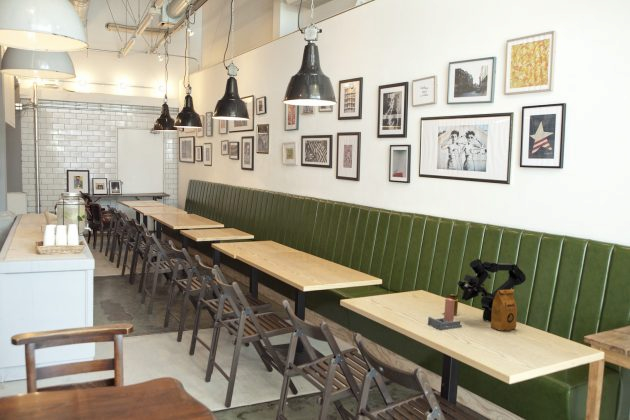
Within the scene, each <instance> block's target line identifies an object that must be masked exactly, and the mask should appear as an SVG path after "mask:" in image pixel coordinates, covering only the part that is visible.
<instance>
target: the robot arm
mask: <svg viewBox="0 0 630 420" xmlns="http://www.w3.org/2000/svg"><path fill="white" fill-rule="evenodd" d="M469 267H470V268H471V270H472V271H473V273H474V274H476V275H469V274H465V276H464V278H463V280H458V282H457V285H458V286H459V288H460V289H461V290H462V291H463V293H462V295H461V300H462V301H463V300H464V301H466V302H467V301H469V300H471V299H473V298H476V297H480V296H479V294H481V297H482V298H480V299H481V300H480V304H481V308H482V309H484V310H483V312H482V320H483V321H485V322H491V314H492V305H493V300H494V298H495V296H496V294H497V292H498V290H512V289H513V288H514V287H516V286H519V285H522V284H524V282H526V275H525V273H524V272H523V270H521V269H520V268H519V266H518V264H516V263H512V262H509V263H502V262H501V263H498V262H497V263H496V262H492V261H488V260H485V261H483V262H482V261H481V259H480V258H476V260H475V259H474V260H473V261H471V262H470V263H469ZM499 271H504V272H505V271H507V274H508V279H507V280H506V281H505V282H504V283H502V284H501V285H500V286H499V287H498V288H497V289H495V290H494V291H493V292H492V293H491V292H488V291H487V290H486V288H485V287H484V285H485V284H484V283H485V282H486V280H487V279H489V280H491V279H492V275H491V274H493V273H497V272H499Z"/></svg>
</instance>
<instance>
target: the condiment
mask: <svg viewBox="0 0 630 420" xmlns="http://www.w3.org/2000/svg"><path fill="white" fill-rule="evenodd" d="M458 296H459V295H458V294H456V293H449V294H448V298H450V299H453V300H455V304H454V317H457V316H459V315H461V314H459V313H458V304H459V299H458V298H459V297H458ZM448 298H447V299H448ZM444 313H445V312H443V313H441V314H442V315H444Z"/></svg>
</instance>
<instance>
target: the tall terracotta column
mask: <svg viewBox="0 0 630 420" xmlns="http://www.w3.org/2000/svg"><path fill="white" fill-rule="evenodd" d="M444 303H445V304H444V312H443V313H444V314H443V315H444V316H443V318H444V319H443V322H444V323H446V322H454V317H455V316H454V304H455V300H453V299H450V298H445V302H444Z"/></svg>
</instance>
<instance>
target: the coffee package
mask: <svg viewBox="0 0 630 420" xmlns="http://www.w3.org/2000/svg"><path fill="white" fill-rule="evenodd" d="M514 293H515V289H513V288H512V289H510V290H498V292H497V294H496V296H495V298H494V300H493V305H492V314H491V321H490V327H491V328H492V329H494V330H495V329H496V330H498V331H511V330H512V331H513V330H515V329H516V328H517V316H518V307H517V302H516V301H515V298H514Z"/></svg>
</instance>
